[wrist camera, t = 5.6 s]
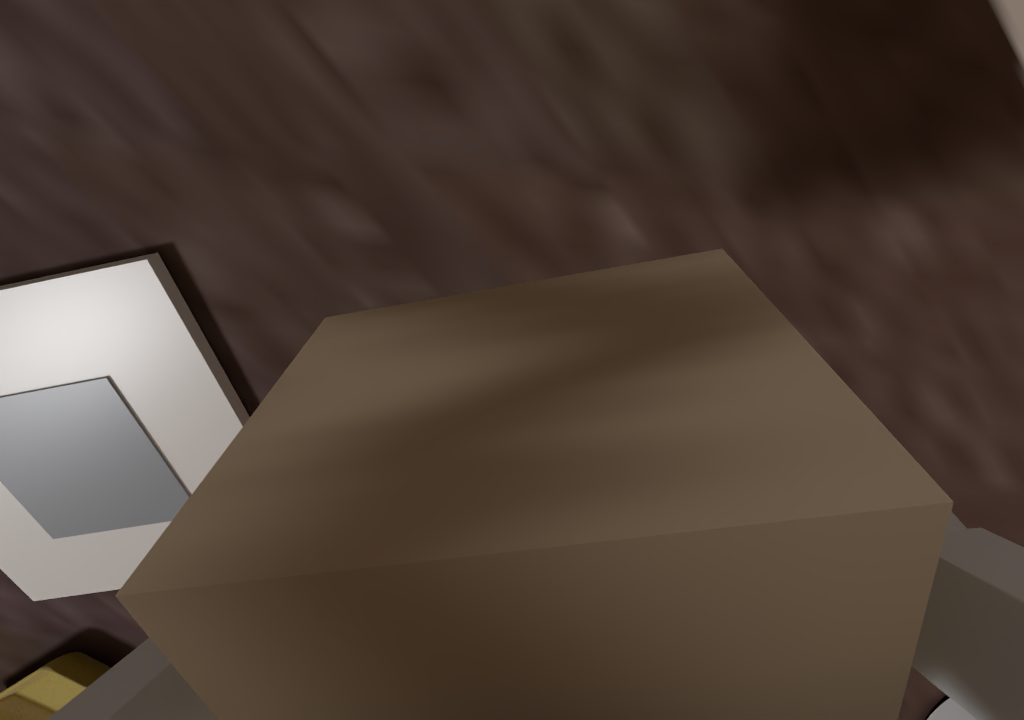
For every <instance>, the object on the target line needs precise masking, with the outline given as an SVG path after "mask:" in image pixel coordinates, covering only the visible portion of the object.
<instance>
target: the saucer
mask: <svg viewBox="0 0 1024 720" xmlns="http://www.w3.org/2000/svg"><path fill="white" fill-rule="evenodd" d="M110 669H111V667H109V666H107V665H105V664H103V663H101V662H99V661H97V660H95V659H93V658H91V657H89V656H88V655H86V654H84V653H81V652H77V651H75V652H71V653H68V654H65V655H63V656H60V657H58V658H56V659H54V660H52V661H50V662H49V663H47V664H46V665H44V666H42V667H41V668H39V669H38V670H36V671H34V672H33V673H31V674H30V675H28V676H26V677H25V678H23V679H21V680H20V681H18V682H17V683H15V684H13V685H12V686H10V687H9V688H7V689H5V690H4V691H2V692H1V693H0V720H47V719H48V718H50V717H51V716H52V715H53V714H55V713H56V712H57V711H58V710H60V709H61V708H62V707H63V706H65V705H66V704H67V703H68V702H70V701H71V700H72V699H73V698H75V697H76V696H77V695H78V694H80V693H81V692H82V691H83V690H85V689H86V688H87V687H88V686H90V685H91V684H92V683H93V682H95V681H96V680H97V679H98V678H100V677H101V676H102V675H103V674H105V673H106V672H107V671H108V670H110Z"/></svg>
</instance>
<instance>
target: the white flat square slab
mask: <svg viewBox="0 0 1024 720" xmlns="http://www.w3.org/2000/svg"><path fill="white" fill-rule="evenodd" d="M249 418H250V416H249V415H248V413H247V411H246V409H245V408H244V406H243V404H242V402H241V400H240V399H239V397H238V395H237V393H236V391H235V390H234V388H233V386H232V384H231V383H230V381H229V379H228V377H227V375H226V374H225V372H224V370H223V368H222V366H221V365H220V363H219V361H218V359H217V357H216V356H215V354H214V352H213V350H212V349H211V347H210V345H209V343H208V341H207V340H206V338H205V336H204V334H203V332H202V331H201V329H200V327H199V325H198V324H197V322H196V320H195V318H194V316H193V315H192V313H191V311H190V309H189V307H188V306H187V304H186V302H185V300H184V298H183V297H182V295H181V293H180V291H179V290H178V288H177V286H176V284H175V282H174V281H173V279H172V277H171V275H170V273H169V272H168V270H167V268H166V266H165V265H164V263H163V261H162V259H161V257H160V256H159V254H158V253H153V254H149V255H144V256H139V257H134V258H130V259H125V260H120V261H116V262H111V263H106V264H101V265H97V266H92V267H87V268H83V269H78V270H73V271H68V272H64V273H59V274H54V275H50V276H45V277H40V278H35V279H31V280H26V281H21V282H17V283H12V284H7V285H2V286H0V569H1V570H2V571H3V572H4V573H5V574H6V575H7V576H8V577H9V578H10V579H11V580H12V581H13V582H14V583H15V584H16V585H18V586H19V587H20V588H21V589H22V590H23V591H24V592H25V593H26V594H27V595H28V596H29V597H30V598H31V599H32V600H33V601H38V600H45V599H52V598H59V597H67V596H74V595H81V594H88V593H95V592H102V591H109V590H117V589H121V588H122V586H123V585H124V584H125V582H126V581H127V580H128V578H129V577H130V576H131V574H132V573H133V572H134V570H135V569H136V568H137V566H138V565H139V564H140V562H141V561H142V560H143V558H144V557H145V556H146V555H147V553H148V552H149V551H150V549H151V548H152V547H153V545H154V544H155V543H156V541H157V540H158V539H159V537H160V536H161V535H162V533H163V532H164V531H165V529H166V528H167V527H168V525H169V524H170V523H171V521H172V520H173V519H174V517H175V516H176V515H177V513H178V512H179V511H180V509H181V508H182V507H183V506H184V504H185V503H186V502H187V500H188V499H189V498H190V496H191V495H192V494H193V492H194V491H195V490H196V488H197V487H198V486H199V484H200V483H201V482H202V480H203V479H204V478H205V476H206V475H207V474H208V472H209V471H210V470H211V468H212V467H213V466H214V464H215V463H216V462H217V461H218V459H219V458H220V457H221V455H222V454H223V453H224V451H225V450H226V449H227V447H228V446H229V445H230V443H231V442H232V441H233V439H234V438H235V437H236V435H237V434H238V433H239V431H240V430H241V429H242V427H243V426H244V425H245V423H246V422H247V421H248V419H249Z"/></svg>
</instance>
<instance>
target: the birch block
mask: <svg viewBox="0 0 1024 720" xmlns="http://www.w3.org/2000/svg"><path fill="white" fill-rule="evenodd" d="M952 506H953V501H952V500H951V499H950V498H949V496H948V495H947V494H946V493H945V492H944V491H943V490H942V489H941V488H940V487H939V486H938V484H937V483H936V482H935V481H934V480H933V479H932V478H931V477H930V476H929V475H928V473H927V472H926V471H925V470H924V469H923V468H922V467H921V466H920V465H919V464H918V463H917V461H916V460H915V459H914V458H913V457H912V456H911V455H910V454H909V453H908V452H907V451H906V449H905V448H904V447H903V446H902V445H901V444H900V443H899V442H898V441H897V440H896V438H895V437H894V436H893V435H892V434H891V433H890V432H889V431H888V430H887V429H886V428H885V426H884V425H883V424H882V423H881V422H880V421H879V420H878V419H877V418H876V417H875V415H874V414H873V413H872V412H871V411H870V410H869V409H868V408H867V407H866V406H865V405H864V403H863V402H862V401H861V400H860V399H859V398H858V397H857V396H856V395H855V394H854V392H853V391H852V390H851V389H850V388H849V387H848V386H847V385H846V384H845V383H844V382H843V380H842V379H841V378H840V377H839V376H838V375H837V374H836V373H835V372H834V371H833V370H832V368H831V367H830V366H829V365H828V364H827V363H826V362H825V361H824V360H823V359H822V357H821V356H820V355H819V354H818V353H817V352H816V351H815V350H814V349H813V348H812V347H811V345H810V344H809V343H808V342H807V341H806V340H805V339H804V338H803V337H802V336H801V334H800V333H799V332H798V331H797V330H796V329H795V328H794V327H793V326H792V325H791V324H790V322H789V321H788V320H787V319H786V318H785V317H784V316H783V315H782V314H781V313H780V311H779V310H778V309H777V308H776V307H775V306H774V305H773V304H772V303H771V302H770V301H769V299H768V298H767V297H766V296H765V295H764V294H763V293H762V292H761V291H760V290H759V289H758V287H757V286H756V285H755V284H754V283H753V282H752V281H751V280H750V279H749V278H748V276H747V275H746V274H745V273H744V272H743V271H742V270H741V269H740V268H739V267H738V266H737V264H736V263H735V262H734V261H733V260H732V259H731V258H730V257H729V256H728V255H727V253H726V252H725V251H724V250H723V249H718V250H712V251H706V252H700V253H695V254H689V255H683V256H677V257H672V258H666V259H660V260H654V261H649V262H643V263H637V264H631V265H625V266H620V267H614V268H608V269H602V270H597V271H591V272H585V273H579V274H574V275H568V276H562V277H556V278H551V279H545V280H539V281H533V282H528V283H522V284H516V285H510V286H505V287H499V288H493V289H487V290H481V291H476V292H470V293H464V294H458V295H453V296H447V297H441V298H435V299H430V300H424V301H418V302H412V303H407V304H401V305H395V306H389V307H384V308H378V309H372V310H366V311H360V312H355V313H349V314H343V315H337V316H332V317H326V318H325V319H324V320H323V322H322V323H321V324H320V325H319V327H318V328H317V329H316V331H315V332H314V333H313V335H312V336H311V337H310V339H309V340H308V341H307V343H306V344H305V345H304V347H303V348H302V349H301V351H300V352H299V353H298V355H297V356H296V357H295V359H294V360H293V361H292V363H291V364H290V365H289V367H288V368H287V369H286V370H285V372H284V373H283V374H282V376H281V377H280V378H279V380H278V381H277V382H276V384H275V385H274V386H273V388H272V389H271V390H270V392H269V393H268V394H267V396H266V397H265V398H264V400H263V401H262V402H261V404H260V405H259V406H258V408H257V409H256V410H255V412H254V413H253V414H252V416H251V417H250V418H249V419H248V421H247V422H246V423H245V425H244V426H243V427H242V429H241V430H240V431H239V433H238V434H237V435H236V437H235V438H234V439H233V441H232V442H231V443H230V445H229V446H228V447H227V449H226V450H225V451H224V453H223V454H222V455H221V457H220V458H219V459H218V461H217V462H216V463H215V464H214V466H213V467H212V468H211V470H210V471H209V472H208V474H207V475H206V476H205V478H204V479H203V480H202V482H201V483H200V484H199V486H198V487H197V488H196V490H195V491H194V492H193V494H192V495H191V496H190V498H189V499H188V500H187V502H186V503H185V504H184V506H183V507H182V508H181V509H180V511H179V512H178V513H177V515H176V516H175V517H174V519H173V520H172V521H171V523H170V524H169V525H168V527H167V528H166V529H165V531H164V532H163V533H162V535H161V536H160V537H159V539H158V540H157V541H156V543H155V544H154V545H153V547H152V548H151V549H150V551H149V552H148V553H147V555H146V556H145V557H144V558H143V560H142V561H141V562H140V564H139V565H138V566H137V568H136V569H135V570H134V572H133V573H132V574H131V576H130V577H129V578H128V580H127V581H126V582H125V584H124V585H123V586H122V588H121V589H120V590H119V592H118V593H117V594H116V598H117V599H118V600H119V601H120V602H121V604H122V605H123V606H124V607H125V608H126V610H127V611H128V612H129V613H130V614H131V616H132V617H133V618H134V619H135V620H136V622H137V623H138V624H139V625H140V626H141V628H142V629H143V630H144V631H145V632H146V634H147V635H148V636H149V637H150V638H151V640H152V641H153V642H154V643H155V644H156V646H157V647H158V648H159V649H160V650H161V652H162V653H163V654H164V655H165V656H166V658H167V659H168V660H169V661H170V663H171V664H172V665H173V666H174V667H175V669H176V670H177V671H178V672H179V673H180V675H181V676H182V677H183V678H184V679H185V681H186V682H187V683H188V684H189V685H190V687H191V688H192V689H193V690H194V691H195V693H196V694H197V695H198V696H199V697H200V699H201V700H202V701H203V702H204V703H205V705H206V706H207V707H208V708H209V709H210V711H211V712H212V713H213V714H214V715H215V717H216V718H217V719H218V720H898V716H899V712H900V708H901V704H902V701H903V697H904V693H905V689H906V685H907V681H908V677H909V673H910V669H911V666H912V662H913V658H914V654H915V650H916V646H917V642H918V638H919V634H920V631H921V627H922V623H923V619H924V615H925V611H926V607H927V603H928V599H929V596H930V592H931V588H932V584H933V580H934V576H935V572H936V568H937V564H938V561H939V557H940V553H941V549H942V545H943V541H944V537H945V533H946V530H947V526H948V522H949V518H950V514H951V510H952Z"/></svg>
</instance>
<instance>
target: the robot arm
mask: <svg viewBox="0 0 1024 720" xmlns="http://www.w3.org/2000/svg"><path fill="white" fill-rule="evenodd" d="M912 667H913V668H914V669H915V670H917V671H918V672H919V673H920V674H922V675H923V676H924V677H925V678H927V679H928V680H929V681H930V682H931V683H933V684H934V685H935V686H936V687H938V688H939V689H940V690H941V691H942V692H944V693H945V694H946V695H947V696H949V697H950V698H949V699H947V700H946V701H945V702H944V703H942V704H941V705H940V706H939V707H938V708H937V709H936V710H935V711H934V712H933V713H932V714H931V715H930V716H929V717H928V719H927V720H1024V547H1021V546H1019V545H1017V544H1015V543H1013V542H1011V541H1009V540H1007V539H1004V538H1002V537H1000V536H998V535H996V534H994V533H992V532H989V531H987V530H985V529H983V528H972V529H967V528H966V527H965V526H964V525H963V524H962V523H961V521H960V520H959V519H958V518H957V517H956V516H955V515H954V514H953V513H952V511H951V514H950V518H949V522H948V526H947V530H946V533H945V537H944V541H943V545H942V549H941V553H940V557H939V561H938V564H937V568H936V572H935V576H934V580H933V584H932V588H931V592H930V596H929V599H928V603H927V607H926V611H925V615H924V619H923V623H922V627H921V631H920V634H919V638H918V642H917V646H916V650H915V654H914V658H913V662H912ZM47 720H218V719H217V718H216V717H215V715H214V714H213V713H212V712H211V711H210V709H209V708H208V707H207V706H206V705H205V703H204V702H203V701H202V700H201V699H200V697H199V696H198V695H197V694H196V693H195V691H194V690H193V689H192V688H191V687H190V685H189V684H188V683H187V682H186V681H185V679H184V678H183V677H182V676H181V675H180V673H179V672H178V671H177V670H176V669H175V667H174V666H173V665H172V664H171V663H170V661H169V660H168V659H167V658H166V656H165V655H164V654H163V653H162V652H161V650H160V649H159V648H158V647H157V646H156V644H155V643H154V642H153V641H152V640H151V638H150V637H149V638H148V639H147V640H146V641H144V642H143V643H142V644H141V645H139V646H138V647H137V648H136V649H135V650H133V651H132V652H131V653H130V654H128V655H127V656H126V657H125V658H123V659H122V660H121V661H120V662H118V663H117V664H116V665H115V666H113V667H112V668H111V669H110V670H108V671H107V672H106V673H105V674H103V675H102V676H101V677H100V678H98V679H97V680H96V681H95V682H93V683H92V684H91V685H90V686H88V687H87V688H86V689H85V690H83V691H82V692H81V693H80V694H78V695H77V696H76V697H75V698H73V699H72V700H71V701H70V702H68V703H67V704H66V705H65V706H63V707H62V708H61V709H60V710H58V711H57V712H56V713H55V714H53V715H52V716H51V717H50V718H48V719H47Z"/></svg>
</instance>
